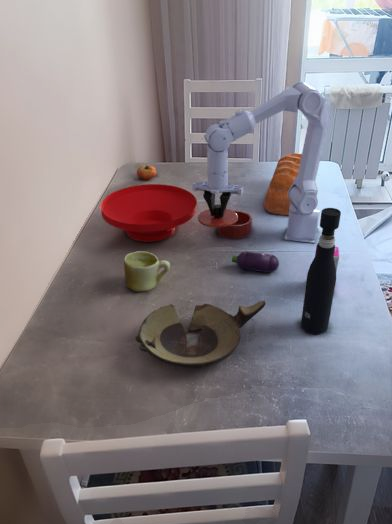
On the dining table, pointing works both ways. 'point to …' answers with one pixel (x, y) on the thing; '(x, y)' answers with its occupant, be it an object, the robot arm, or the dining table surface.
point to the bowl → (149, 210)
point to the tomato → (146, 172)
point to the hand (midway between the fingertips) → (217, 215)
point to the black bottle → (321, 277)
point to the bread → (282, 184)
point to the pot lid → (217, 218)
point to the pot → (238, 227)
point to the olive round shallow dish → (205, 319)
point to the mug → (143, 270)
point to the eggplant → (256, 261)
